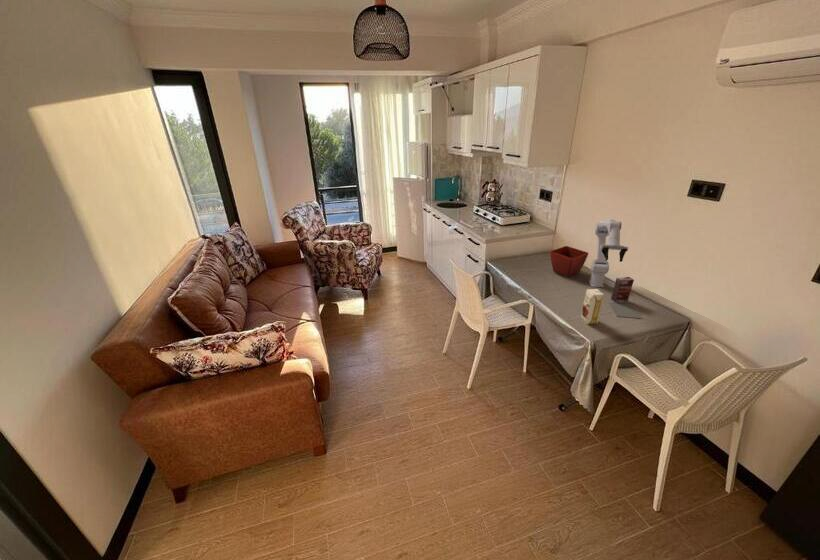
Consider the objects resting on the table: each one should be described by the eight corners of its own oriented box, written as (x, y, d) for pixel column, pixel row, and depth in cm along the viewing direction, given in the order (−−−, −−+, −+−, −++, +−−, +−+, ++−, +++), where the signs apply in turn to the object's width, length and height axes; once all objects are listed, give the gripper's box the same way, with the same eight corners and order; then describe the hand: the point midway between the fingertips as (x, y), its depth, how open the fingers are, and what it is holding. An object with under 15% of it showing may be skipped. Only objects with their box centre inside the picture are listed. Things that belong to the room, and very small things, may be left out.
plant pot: (568, 280, 237) (572, 258, 230) (546, 271, 252) (549, 251, 245) (585, 273, 246) (589, 252, 238) (562, 265, 261) (566, 245, 253)
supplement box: (615, 303, 205) (621, 281, 198) (610, 300, 209) (615, 277, 202) (628, 302, 206) (634, 279, 199) (622, 298, 210) (628, 276, 203)
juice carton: (591, 316, 193) (598, 288, 185) (599, 324, 186) (606, 295, 177) (578, 317, 193) (584, 288, 185) (586, 325, 185) (593, 295, 177)
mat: (609, 303, 206) (609, 302, 206) (632, 305, 203) (632, 304, 202) (617, 316, 192) (617, 316, 192) (642, 318, 189) (642, 318, 189)
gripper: (603, 235, 195) (602, 256, 191) (630, 238, 192) (630, 259, 188) (599, 240, 202) (598, 261, 198) (625, 242, 198) (625, 263, 195)
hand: (613, 260), depth 193 cm, fingers open, 7 cm apart
